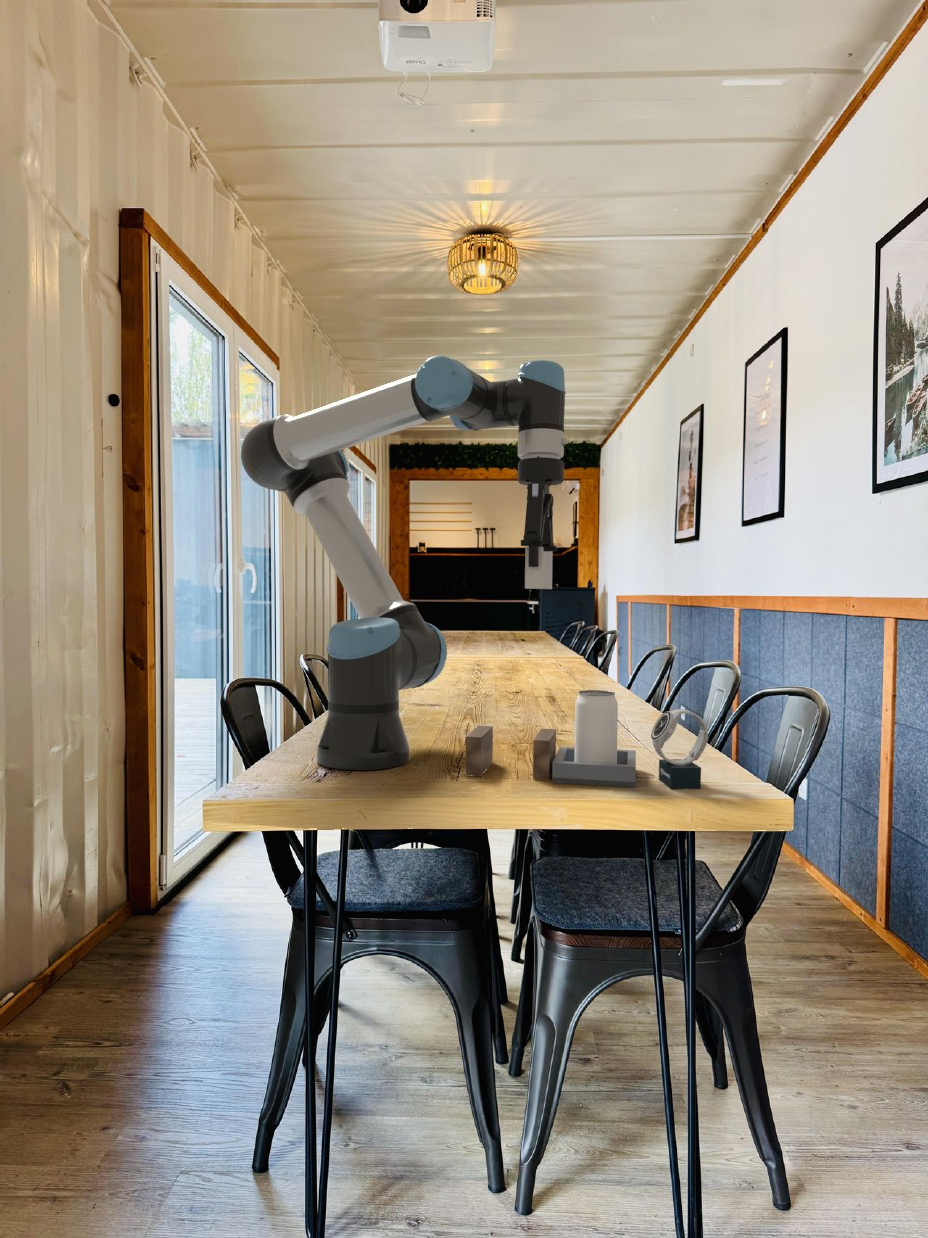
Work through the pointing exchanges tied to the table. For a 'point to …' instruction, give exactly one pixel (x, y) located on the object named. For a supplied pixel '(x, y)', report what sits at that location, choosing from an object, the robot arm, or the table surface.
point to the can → (596, 727)
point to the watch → (678, 770)
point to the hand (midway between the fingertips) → (539, 589)
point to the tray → (594, 770)
